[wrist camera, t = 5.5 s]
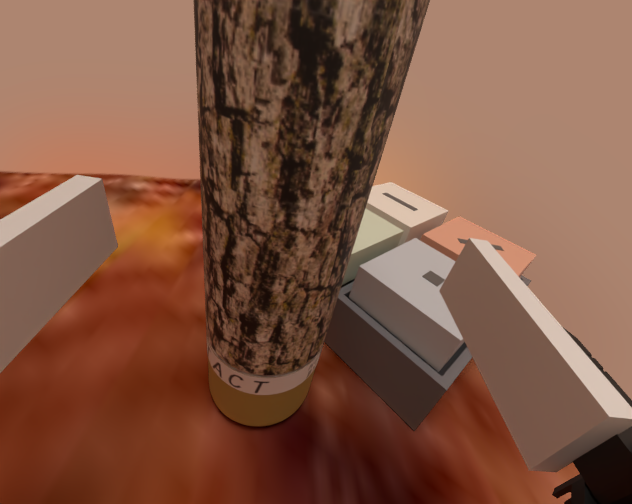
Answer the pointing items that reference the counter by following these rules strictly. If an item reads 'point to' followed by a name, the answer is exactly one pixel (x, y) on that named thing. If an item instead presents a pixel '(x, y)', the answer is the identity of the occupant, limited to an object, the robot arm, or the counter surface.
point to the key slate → (410, 299)
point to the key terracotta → (459, 230)
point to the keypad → (390, 360)
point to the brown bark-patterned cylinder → (287, 177)
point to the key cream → (405, 210)
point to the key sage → (371, 242)
